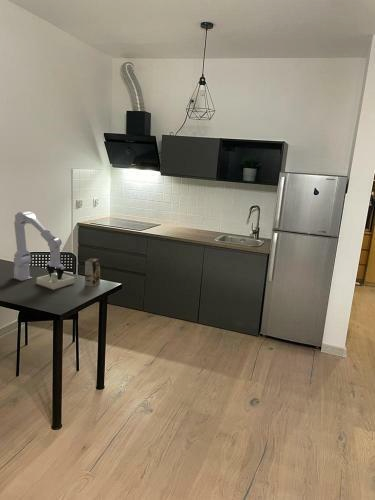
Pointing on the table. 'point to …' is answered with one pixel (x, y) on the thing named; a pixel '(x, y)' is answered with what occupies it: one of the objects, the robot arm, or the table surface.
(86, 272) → the coffee box
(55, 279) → the sage green capsule
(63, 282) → the white bin
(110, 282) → the table surface
